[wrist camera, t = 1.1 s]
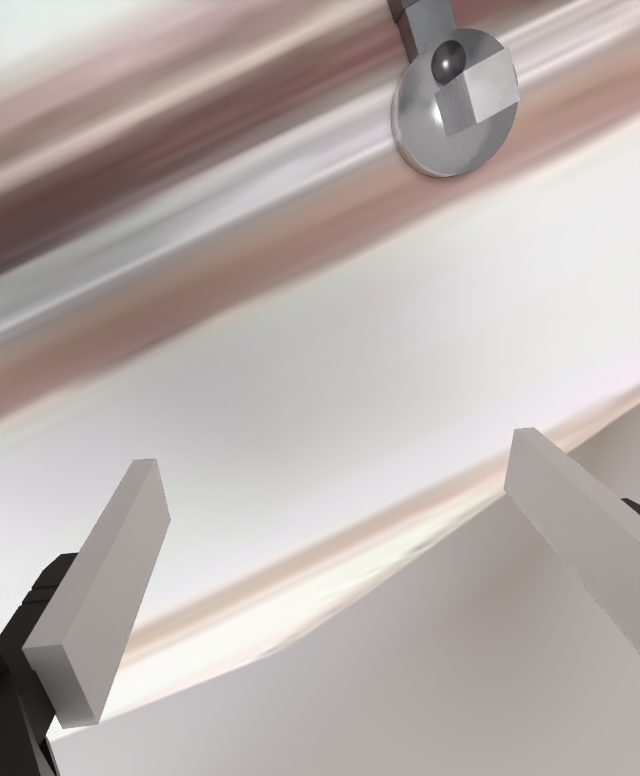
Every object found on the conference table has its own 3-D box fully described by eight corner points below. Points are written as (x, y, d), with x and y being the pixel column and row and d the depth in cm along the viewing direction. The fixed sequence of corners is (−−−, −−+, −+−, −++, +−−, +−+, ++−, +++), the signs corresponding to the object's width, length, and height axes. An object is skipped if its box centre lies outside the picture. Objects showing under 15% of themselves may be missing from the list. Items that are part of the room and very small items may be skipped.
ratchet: (311, -96, 26) (323, -206, 19) (436, -175, 25) (495, -320, 19) (414, 197, 34) (448, 192, 27) (513, 144, 33) (574, 126, 26)
